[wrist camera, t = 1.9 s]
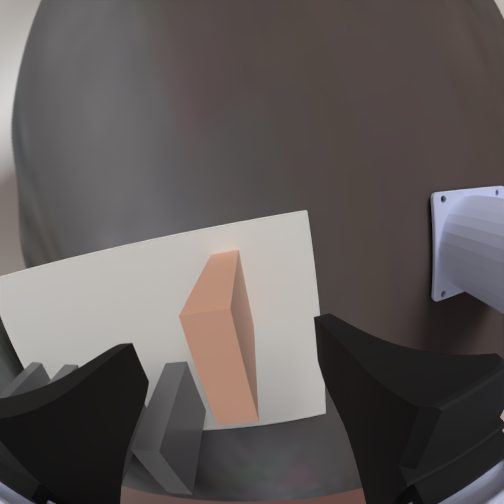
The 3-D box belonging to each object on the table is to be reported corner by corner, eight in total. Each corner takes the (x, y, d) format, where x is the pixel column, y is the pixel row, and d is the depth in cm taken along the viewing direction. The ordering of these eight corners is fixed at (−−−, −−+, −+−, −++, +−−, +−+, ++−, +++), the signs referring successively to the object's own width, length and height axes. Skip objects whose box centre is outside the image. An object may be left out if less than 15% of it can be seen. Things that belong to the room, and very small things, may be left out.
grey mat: (305, 210, 16) (307, 211, 15) (324, 409, 19) (325, 413, 19) (-9, 278, 16) (-12, 280, 16) (55, 414, 20) (54, 416, 20)
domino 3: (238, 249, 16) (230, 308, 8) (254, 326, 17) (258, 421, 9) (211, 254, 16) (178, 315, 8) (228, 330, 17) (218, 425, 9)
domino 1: (41, 362, 18) (-6, 412, 10) (65, 404, 19) (29, 456, 11) (32, 361, 18) (-14, 408, 10) (55, 402, 19) (19, 451, 11)
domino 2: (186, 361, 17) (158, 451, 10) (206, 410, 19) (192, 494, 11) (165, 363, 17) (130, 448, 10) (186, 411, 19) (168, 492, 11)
